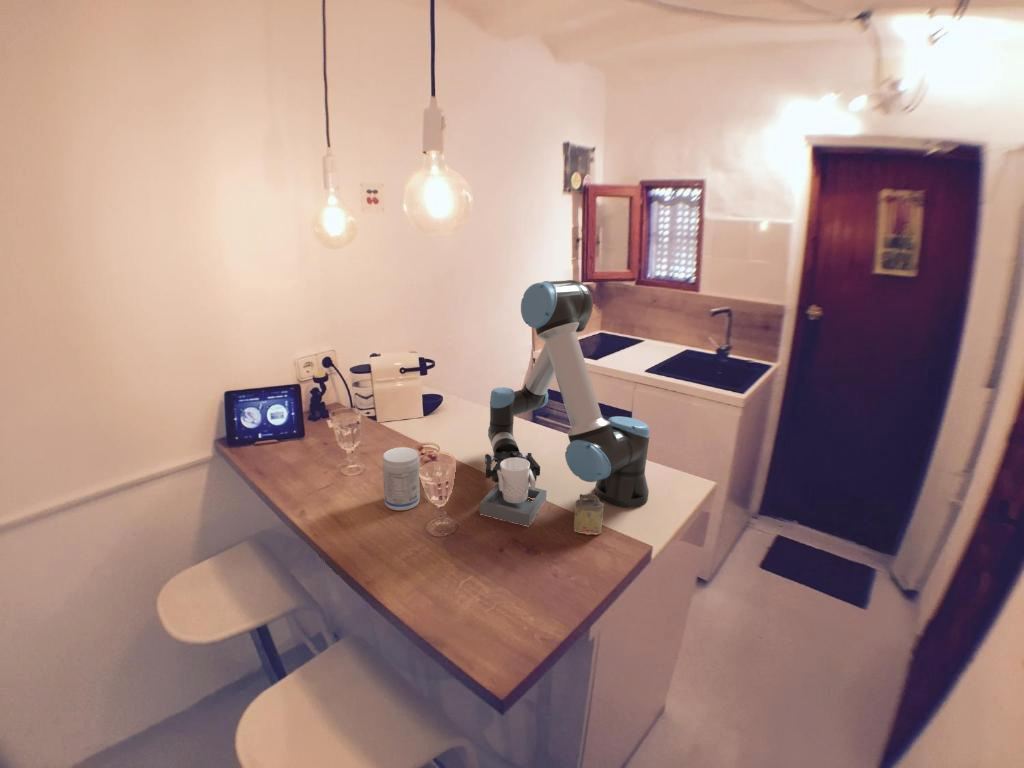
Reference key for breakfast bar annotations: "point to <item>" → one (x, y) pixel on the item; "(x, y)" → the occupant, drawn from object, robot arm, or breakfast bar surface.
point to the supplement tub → (401, 478)
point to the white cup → (515, 479)
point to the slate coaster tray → (512, 506)
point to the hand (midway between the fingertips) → (517, 485)
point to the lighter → (588, 514)
